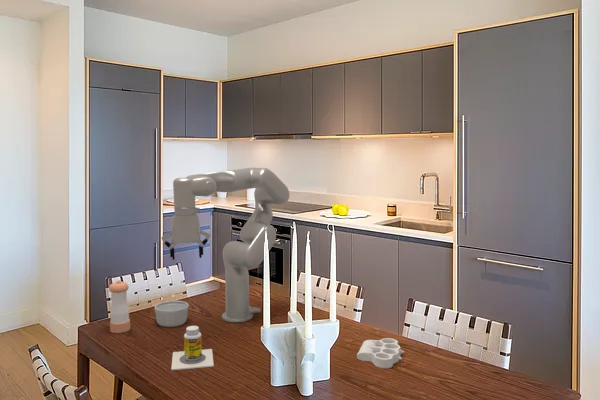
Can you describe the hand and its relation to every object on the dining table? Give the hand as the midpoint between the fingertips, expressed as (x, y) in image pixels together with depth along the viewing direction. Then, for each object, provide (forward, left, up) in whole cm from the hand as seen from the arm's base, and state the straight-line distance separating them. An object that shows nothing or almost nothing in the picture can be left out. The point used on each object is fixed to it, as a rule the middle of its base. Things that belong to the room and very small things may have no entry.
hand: (187, 257), depth 175 cm
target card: (-1, +23, -29) cm, 37 cm away
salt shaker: (+26, -10, -29) cm, 40 cm away
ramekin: (+7, -14, -29) cm, 33 cm away
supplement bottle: (-2, +23, -29) cm, 36 cm away
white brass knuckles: (-63, +33, -30) cm, 77 cm away
